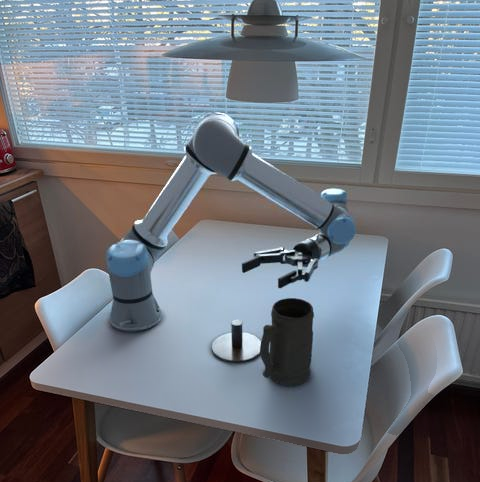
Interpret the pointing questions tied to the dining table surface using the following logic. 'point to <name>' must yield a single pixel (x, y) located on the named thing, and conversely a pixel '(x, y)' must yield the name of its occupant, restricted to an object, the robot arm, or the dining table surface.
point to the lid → (236, 345)
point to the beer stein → (288, 342)
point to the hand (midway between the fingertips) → (260, 275)
